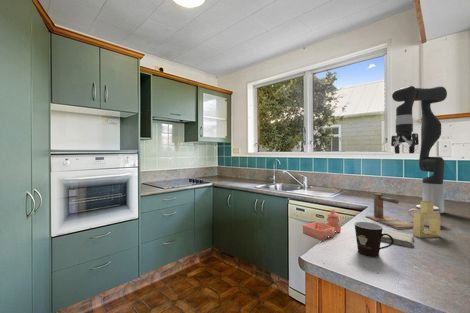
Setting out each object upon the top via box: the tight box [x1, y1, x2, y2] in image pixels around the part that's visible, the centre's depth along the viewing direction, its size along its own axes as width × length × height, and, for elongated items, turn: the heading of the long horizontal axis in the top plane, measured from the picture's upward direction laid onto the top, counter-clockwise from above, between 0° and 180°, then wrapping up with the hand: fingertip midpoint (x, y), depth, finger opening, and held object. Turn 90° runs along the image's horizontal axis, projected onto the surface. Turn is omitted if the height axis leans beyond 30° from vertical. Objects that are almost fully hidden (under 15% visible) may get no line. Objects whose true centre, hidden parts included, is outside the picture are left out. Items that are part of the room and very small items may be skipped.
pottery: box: [302, 209, 342, 242], centre depth 99 cm, size 18×10×10 cm, turn 120°
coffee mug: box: [354, 221, 395, 258], centre depth 77 cm, size 12×9×10 cm
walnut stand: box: [365, 192, 413, 230], centre depth 113 cm, size 20×11×14 cm, turn 9°
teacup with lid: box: [408, 204, 440, 227], centre depth 111 cm, size 12×9×12 cm
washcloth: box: [381, 228, 414, 248], centre depth 93 cm, size 12×18×3 cm, turn 50°
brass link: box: [412, 200, 441, 239], centre depth 94 cm, size 10×3×15 cm, turn 99°
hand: (404, 153), depth 120 cm, fingers open, 8 cm apart
